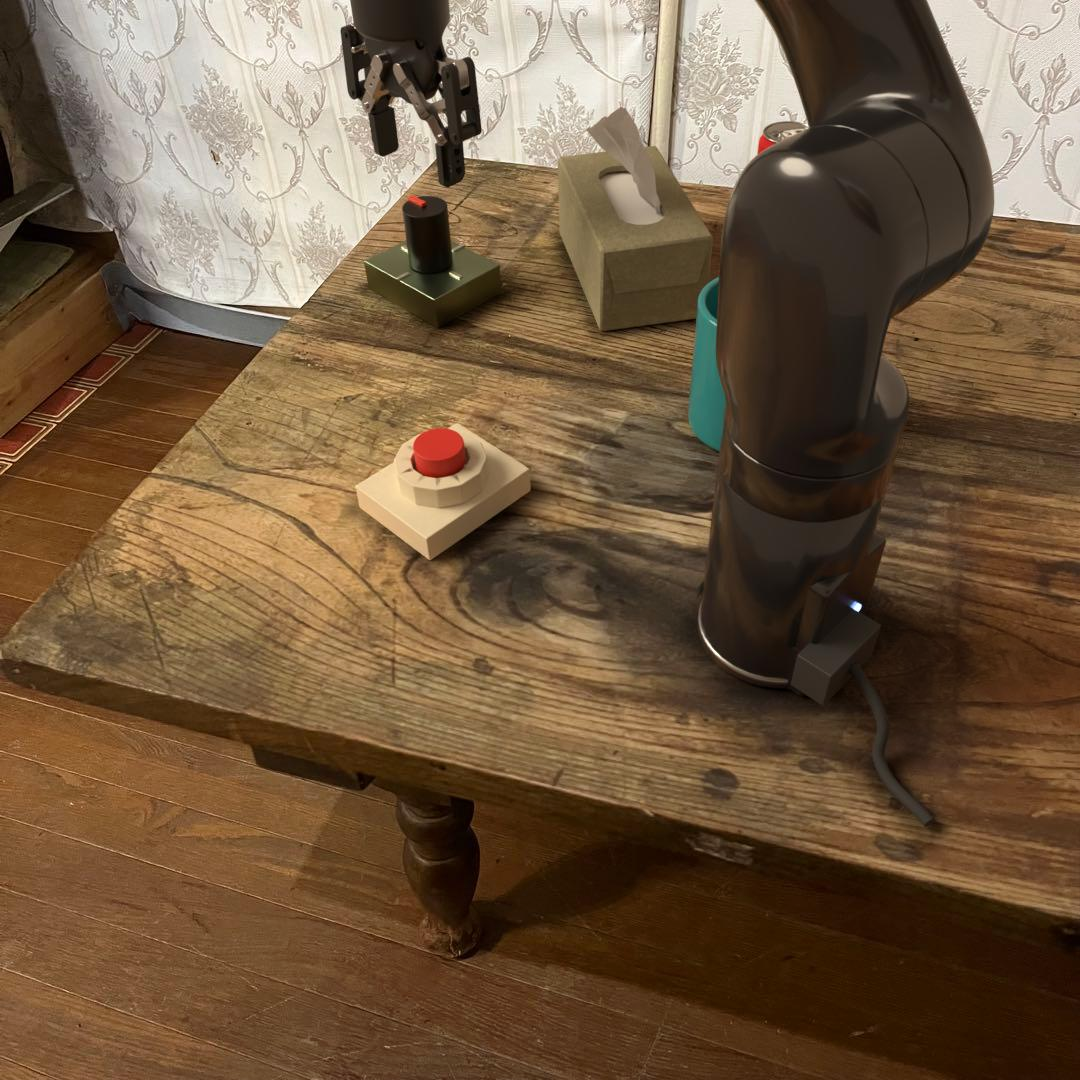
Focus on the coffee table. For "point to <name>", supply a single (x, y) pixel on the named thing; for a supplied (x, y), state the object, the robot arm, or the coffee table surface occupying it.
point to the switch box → (443, 494)
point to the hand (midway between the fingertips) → (418, 167)
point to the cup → (706, 373)
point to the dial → (427, 233)
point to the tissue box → (631, 230)
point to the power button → (439, 453)
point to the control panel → (434, 283)
